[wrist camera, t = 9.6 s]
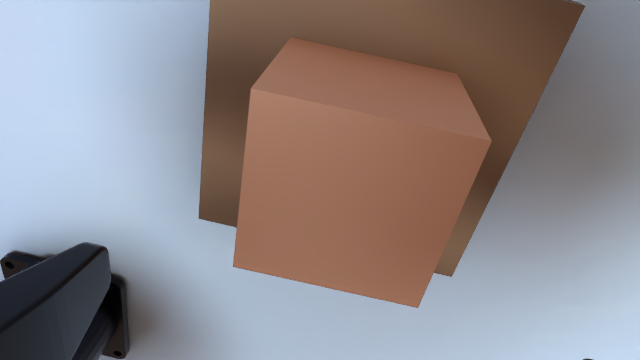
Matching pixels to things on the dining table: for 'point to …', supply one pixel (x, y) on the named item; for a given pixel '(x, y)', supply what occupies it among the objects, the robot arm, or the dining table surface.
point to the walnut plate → (393, 43)
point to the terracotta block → (354, 170)
